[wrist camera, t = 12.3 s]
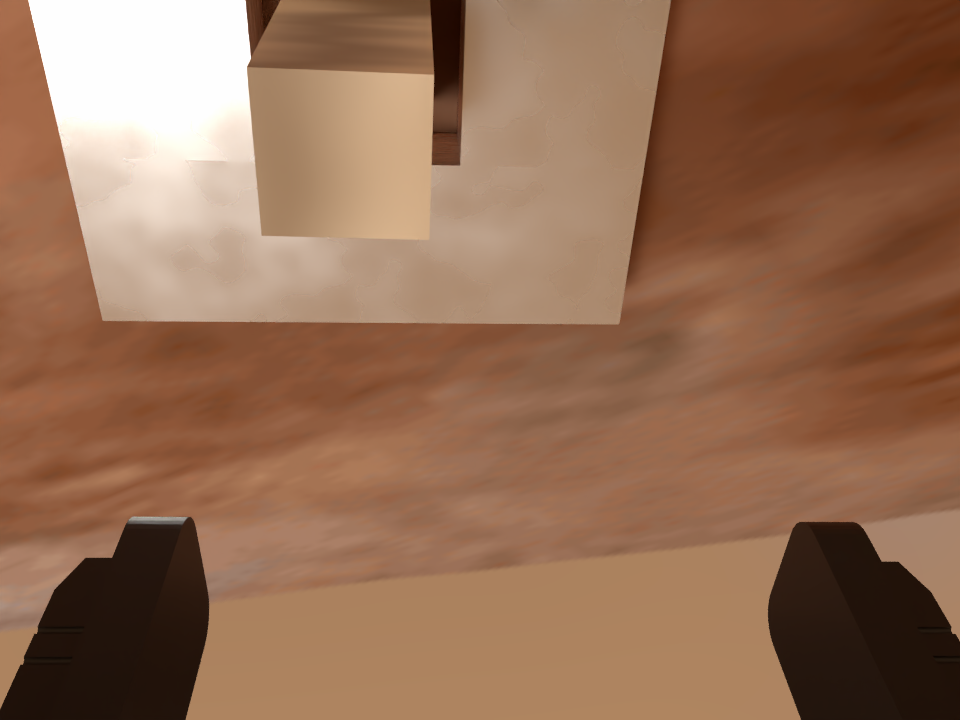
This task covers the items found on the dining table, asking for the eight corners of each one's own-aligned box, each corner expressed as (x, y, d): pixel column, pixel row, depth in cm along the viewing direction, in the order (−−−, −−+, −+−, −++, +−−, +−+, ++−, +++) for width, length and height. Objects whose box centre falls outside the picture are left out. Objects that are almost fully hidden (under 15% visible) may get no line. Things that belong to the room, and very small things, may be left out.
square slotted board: (689, -296, 24) (718, -299, 22) (605, 285, 34) (619, 324, 32) (-5, -338, 23) (-52, -345, 20) (124, 280, 33) (102, 320, 31)
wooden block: (428, -27, 28) (434, 74, 19) (425, 101, 30) (429, 240, 22) (297, -33, 27) (246, 66, 19) (304, 97, 29) (261, 235, 21)
